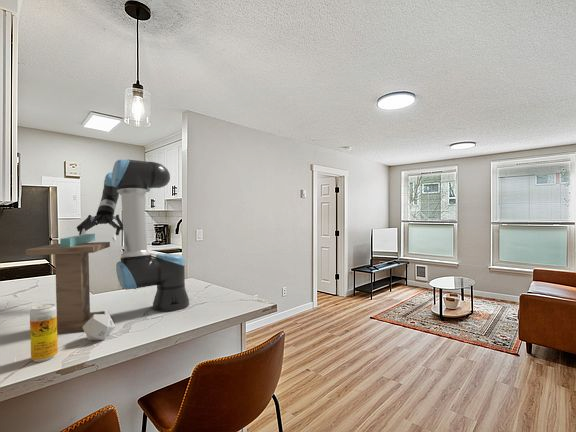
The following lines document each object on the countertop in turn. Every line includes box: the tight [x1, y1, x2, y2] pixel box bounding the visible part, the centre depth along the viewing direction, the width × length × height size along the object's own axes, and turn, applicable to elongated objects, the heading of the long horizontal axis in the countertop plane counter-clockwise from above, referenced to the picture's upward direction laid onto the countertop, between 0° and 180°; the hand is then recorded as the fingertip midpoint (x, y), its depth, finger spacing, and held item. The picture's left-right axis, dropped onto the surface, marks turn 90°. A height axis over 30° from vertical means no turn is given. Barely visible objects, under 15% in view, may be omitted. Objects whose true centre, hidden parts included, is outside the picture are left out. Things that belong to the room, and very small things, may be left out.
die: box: [82, 313, 116, 341], centre depth 103 cm, size 8×9×10 cm
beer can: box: [29, 303, 59, 363], centre depth 90 cm, size 6×6×15 cm
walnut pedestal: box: [25, 241, 111, 335], centre depth 116 cm, size 20×20×30 cm
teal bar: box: [59, 233, 96, 247], centre depth 122 cm, size 26×3×3 cm, turn 15°
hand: (97, 240), depth 145 cm, fingers open, 13 cm apart
